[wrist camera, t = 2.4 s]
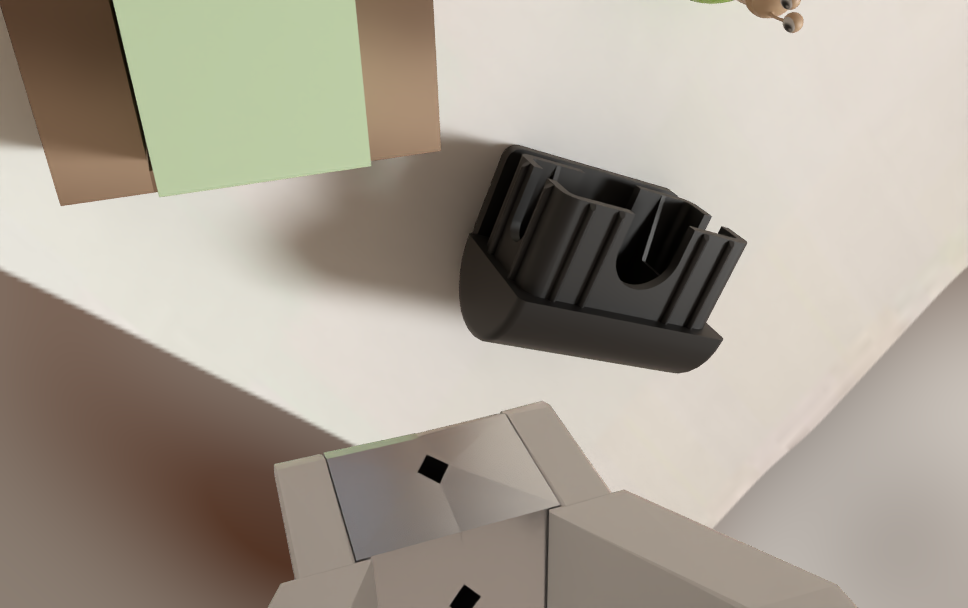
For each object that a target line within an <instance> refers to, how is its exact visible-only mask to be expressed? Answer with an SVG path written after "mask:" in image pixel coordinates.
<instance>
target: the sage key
mask: <svg viewBox="0 0 968 608" xmlns="http://www.w3.org/2000/svg"><path fill="white" fill-rule="evenodd" d="M113 3H114V7H115V12H116V16H117V20H118V24H119V29H120V33H121V37H122V41H123V46H124V50H125V54H126V58H127V63H128V67H129V71H130V75H131V80H132V84H133V88H134V92H135V97H136V101H137V105H138V109H139V114H140V118H141V122H142V126H143V130H144V135H145V139H146V143H147V147H148V152H149V156H150V160H151V164H152V169H153V173H154V177H155V181H156V186H157V190H158V194H159V197H165V196H172V195H178V194H185V193H192V192H199V191H206V190H213V189H219V188H226V187H233V186H240V185H247V184H253V183H260V182H267V181H274V180H281V179H287V178H294V177H301V176H308V175H315V174H321V173H328V172H335V171H342V170H349V169H355V168H362V167H369V166H371V158H370V148H369V137H368V127H367V117H366V106H365V96H364V86H363V76H362V65H361V55H360V45H359V35H358V24H357V14H356V4H355V0H113Z"/></svg>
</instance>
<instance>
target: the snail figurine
mask: <svg viewBox="0 0 968 608" xmlns="http://www.w3.org/2000/svg"><path fill="white" fill-rule="evenodd" d="M691 1H694V2H699V3H710V4H714V3H724V2H729V1H733V0H691ZM738 1H739V2H741V3H743V4H746V6H747V8H748V9H749V10H750V11H751V12H752V13H753V14H754V15H756V16H758V17H761V18H774V19H777V20H779V21H782V22H783V27H784V29H785V30H786V31H787V32H790V33H795V32H797V31H799V30H800V29H801V28H802V26H803V17H802V16H801V15H800V14H799V13H796V12H792V13H789V14H787V15H786V16H785V17H784V19H782V18H779V17H777V16H779V15H781V14H783V13H785V12H786V11H787V10H792V9H795V8H796V7H797V6H798V5H799V4H800V1H801V0H738Z"/></svg>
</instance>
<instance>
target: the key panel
mask: <svg viewBox="0 0 968 608" xmlns="http://www.w3.org/2000/svg"><path fill="white" fill-rule="evenodd" d="M355 4H356V14H357V24H358V35H359V45H360V55H361V65H362V76H363V86H364V96H365V106H366V117H367V127H368V137H369V148H370V158H371V161H375V160H381V159H388V158H395V157H402V156H409V155H416V154H423V153H430V152H437V151H441V142H440V123H439V104H438V85H437V66H436V47H435V28H434V9H433V0H355ZM0 6H1V9H2V13H3V16H4V19H5V22H6V26H7V29H8V32H9V36H10V39H11V42H12V46H13V49H14V52H15V56H16V59H17V62H18V66H19V69H20V72H21V76H22V79H23V82H24V86H25V89H26V92H27V96H28V99H29V102H30V106H31V109H32V112H33V116H34V119H35V122H36V126H37V129H38V132H39V136H40V139H41V142H42V145H43V149H44V152H45V155H46V159H47V162H48V165H49V169H50V172H51V175H52V179H53V182H54V185H55V189H56V192H57V195H58V199H59V202H60V205H61V206H65V205H72V204H78V203H85V202H92V201H99V200H106V199H113V198H120V197H127V196H134V195H140V194H147V193H154V192H158V190H157V186H156V181H155V177H154V173H153V169H152V164H151V160H150V156H149V152H148V147H147V143H146V139H145V135H144V130H143V126H142V122H141V118H140V114H139V109H138V105H137V101H136V97H135V92H134V88H133V84H132V80H131V75H130V71H129V67H128V63H127V58H126V54H125V50H124V46H123V41H122V37H121V33H120V29H119V24H118V20H117V16H116V12H115V7H114V3H113V0H0Z"/></svg>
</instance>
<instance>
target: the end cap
mask: <svg viewBox="0 0 968 608" xmlns="http://www.w3.org/2000/svg"><path fill="white" fill-rule="evenodd" d="M711 217H712V216H711V215H709V214H708V213H707V212H705V211H704V210H702V209H701V208H700V207H698V206H697V205H695V204H693V203H691V202H689V201H687V200H685V199H682V198H679V197H678V196H677V195H676V194H674V193H673V192H672V191H670V190H669V189H667V188H664V187H661V186H657V185H654V184H650V183H647V182H643V181H640V180H637V179H633V178H630V177H626V176H623V175H619V174H616V173H613V172H609V171H606V170H602V169H599V168H595V167H592V166H589V165H585V164H582V163H578V162H575V161H571V160H568V159H565V158H561V157H558V156H554V155H551V154H547V153H544V152H541V151H537V150H534V149H530V148H527V147H523V146H520V145H512V146H511V147H509V148H507V149H506V150H505V151H504V153H503V154H502V156H501V159H500V161H499V164H498V167H497V169H496V172H495V174H494V177H493V179H492V182H491V185H490V187H489V190H488V192H487V195H486V198H485V200H484V203H483V205H482V208H481V210H480V213H479V216H478V218H477V221H476V223H475V226H474V230H473V233H470V234H469V237H468V240H467V243H466V246H465V249H464V254H463V258H462V263H461V269H460V280H459V299H460V307H461V312H462V315H463V319H464V321H465V323H466V325H467V328H468V329H469V331H470V332H471V333H472V334H473V335H474V336H475V337H476V338H478V339H480V340H482V341H485V342H491V343H497V344H503V345H509V346H515V347H521V348H527V349H533V350H539V351H545V352H551V353H557V354H563V355H569V356H575V357H581V358H587V359H593V360H599V361H605V362H611V363H617V364H623V365H628V366H634V367H640V368H646V369H652V370H658V371H664V372H671V373H683V372H689V371H691V370H693V369H695V368H697V367H699V366H700V365H702V364H703V363H704V362H706V361H707V360H708V359H709V358H710V357H711V356H712V355H713V354H714V352H715V351H716V350H717V348H718V347H719V345H720V344H721V342H722V340H723V338H722V337H721V336H720V335H719V334H718V333H717V332H716V331H715V330H714V329H712V328H711V327H710V326H709V325H708V324H707V323H706V321H707V320H708V318H709V316H710V314H711V312H712V310H713V308H714V306H715V304H716V302H717V300H718V298H719V296H720V295H721V293H722V291H723V289H724V287H725V285H726V283H727V281H728V279H729V277H730V275H731V273H732V271H733V270H734V268H735V266H736V264H737V262H738V260H739V258H740V256H741V254H742V252H743V250H744V248H745V246H746V244H747V241H745V240H744V239H743V238H741V237H740V236H739V235H737V234H736V233H734V232H733V231H732V230H730V229H729V228H725V227H722V226H721V228H720V230H719V232H718V234H717V233H713V232H710V231H706V230H705V229H706V227H707V225H708V223H709V221H710V219H711Z"/></svg>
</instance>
